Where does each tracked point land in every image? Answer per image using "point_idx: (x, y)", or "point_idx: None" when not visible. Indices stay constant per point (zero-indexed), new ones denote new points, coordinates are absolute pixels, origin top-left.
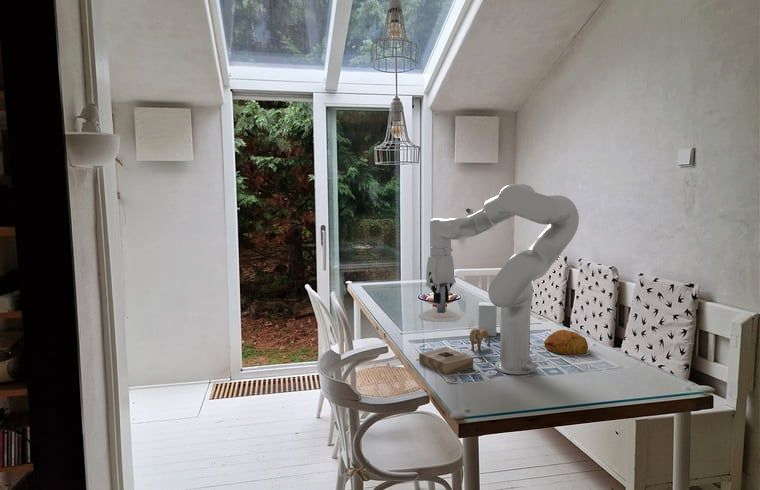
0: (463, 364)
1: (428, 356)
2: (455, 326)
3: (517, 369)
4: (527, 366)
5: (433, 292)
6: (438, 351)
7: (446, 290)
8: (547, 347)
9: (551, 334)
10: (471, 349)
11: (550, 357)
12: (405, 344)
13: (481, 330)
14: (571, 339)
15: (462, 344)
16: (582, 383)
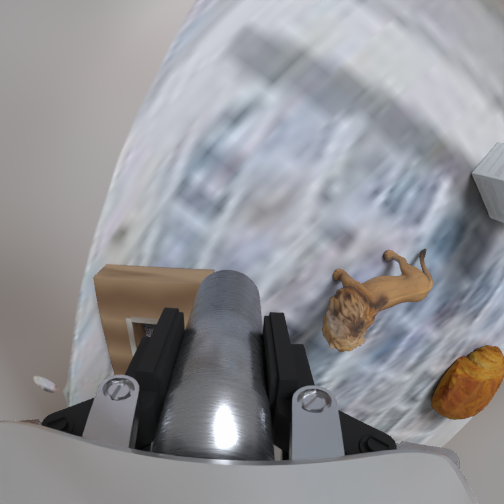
0: None
1: (103, 317)
2: (482, 54)
3: None
4: None
5: (119, 386)
6: (156, 303)
7: (277, 439)
8: (446, 376)
9: (476, 383)
10: (335, 275)
11: (403, 402)
12: (194, 62)
13: (410, 295)
14: (457, 417)
15: (367, 204)
16: None
